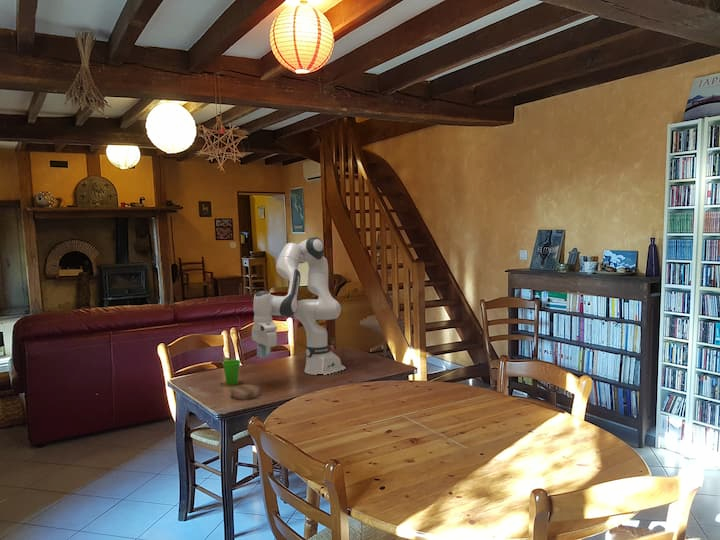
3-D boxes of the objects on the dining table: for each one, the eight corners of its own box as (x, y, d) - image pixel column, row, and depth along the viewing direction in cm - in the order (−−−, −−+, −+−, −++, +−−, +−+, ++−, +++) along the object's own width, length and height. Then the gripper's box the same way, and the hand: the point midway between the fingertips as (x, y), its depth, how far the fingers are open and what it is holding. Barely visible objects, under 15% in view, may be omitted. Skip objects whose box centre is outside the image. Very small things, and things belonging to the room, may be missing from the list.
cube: (266, 354, 251) (266, 344, 250) (271, 356, 247) (270, 346, 246) (257, 356, 248) (256, 346, 247) (261, 358, 244) (261, 347, 243)
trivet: (252, 389, 244) (252, 382, 244) (264, 395, 234) (264, 389, 233) (226, 394, 236) (226, 388, 236) (238, 401, 226) (237, 395, 226)
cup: (238, 386, 248) (238, 364, 248) (220, 386, 249) (219, 364, 248) (243, 380, 257) (242, 359, 256) (225, 380, 258) (224, 359, 257)
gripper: (248, 322, 252) (249, 349, 253) (266, 328, 236) (267, 358, 237) (259, 320, 256) (260, 347, 257) (278, 327, 240) (279, 355, 241)
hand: (264, 352), depth 247 cm, fingers closed on cube, 5 cm apart
